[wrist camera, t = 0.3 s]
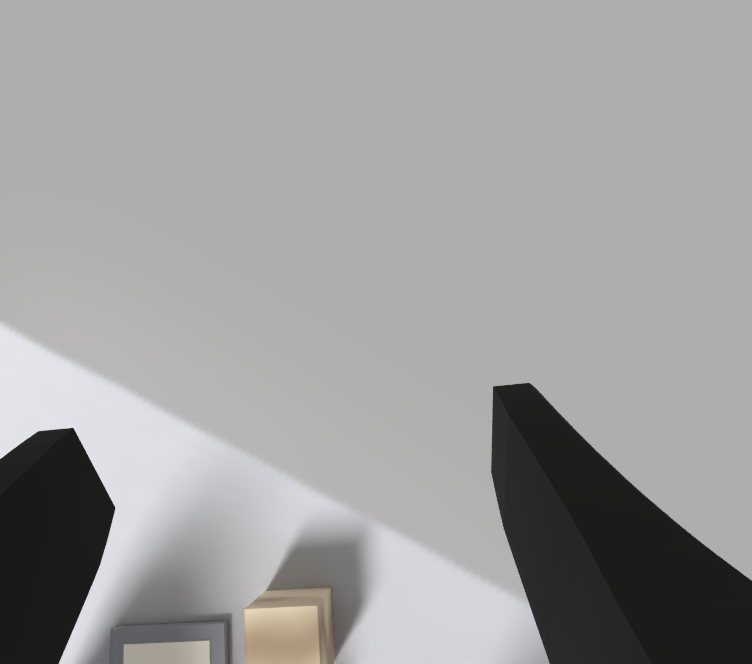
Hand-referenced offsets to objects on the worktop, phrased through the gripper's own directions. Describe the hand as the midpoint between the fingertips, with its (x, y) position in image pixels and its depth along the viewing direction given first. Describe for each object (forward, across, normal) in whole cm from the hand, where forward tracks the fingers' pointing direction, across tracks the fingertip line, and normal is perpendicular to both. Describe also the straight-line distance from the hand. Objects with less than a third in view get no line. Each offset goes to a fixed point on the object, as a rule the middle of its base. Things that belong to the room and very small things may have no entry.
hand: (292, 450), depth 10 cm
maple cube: (+14, +6, +29) cm, 33 cm away
